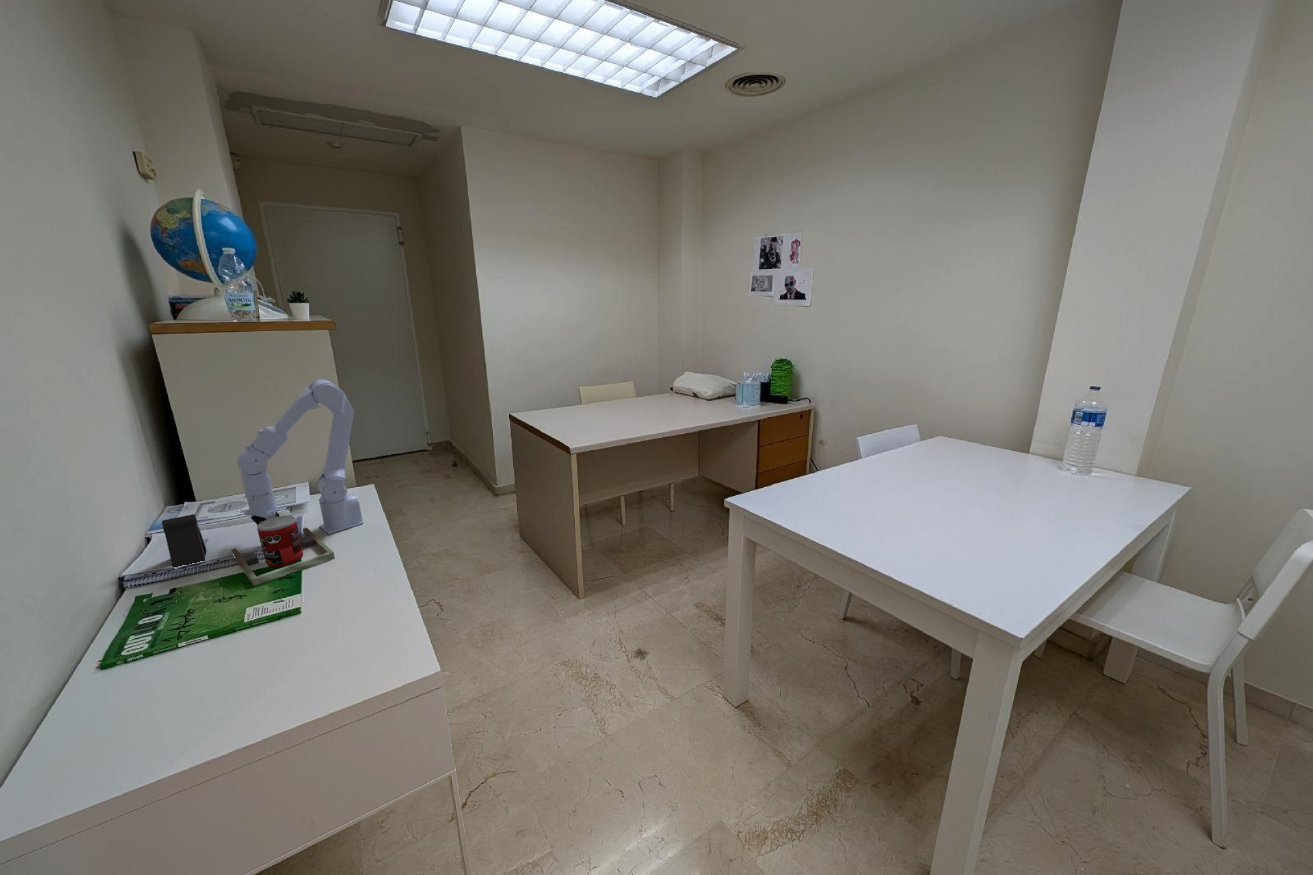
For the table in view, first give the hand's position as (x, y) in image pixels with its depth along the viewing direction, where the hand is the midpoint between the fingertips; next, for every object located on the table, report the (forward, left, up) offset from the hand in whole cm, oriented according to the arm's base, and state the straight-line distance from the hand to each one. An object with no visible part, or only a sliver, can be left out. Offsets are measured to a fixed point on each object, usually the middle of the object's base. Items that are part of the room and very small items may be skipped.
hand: (270, 538), depth 134 cm
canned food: (0, +14, -2) cm, 14 cm away
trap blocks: (0, +8, -2) cm, 9 cm away
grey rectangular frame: (0, +11, -2) cm, 12 cm away
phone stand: (+16, -6, -2) cm, 17 cm away
